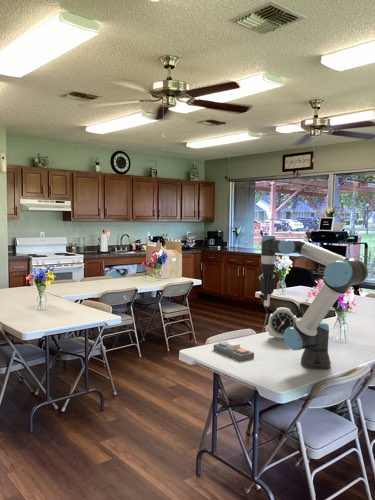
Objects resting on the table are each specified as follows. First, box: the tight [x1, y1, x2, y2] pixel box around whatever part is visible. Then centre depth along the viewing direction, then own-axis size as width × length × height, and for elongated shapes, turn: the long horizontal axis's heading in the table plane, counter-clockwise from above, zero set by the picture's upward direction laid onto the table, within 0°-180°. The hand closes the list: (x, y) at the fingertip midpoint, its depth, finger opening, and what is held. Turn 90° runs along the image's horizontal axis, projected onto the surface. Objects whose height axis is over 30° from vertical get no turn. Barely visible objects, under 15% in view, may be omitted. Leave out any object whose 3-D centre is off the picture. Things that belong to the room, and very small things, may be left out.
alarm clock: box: [267, 306, 298, 341], centre depth 275 cm, size 18×8×20 cm, turn 76°
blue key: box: [218, 341, 229, 347], centre depth 248 cm, size 5×5×3 cm
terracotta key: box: [236, 347, 250, 354], centre depth 236 cm, size 5×5×3 cm
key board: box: [213, 343, 255, 362], centre depth 242 cm, size 23×10×3 cm, turn 35°
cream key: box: [227, 341, 241, 351], centre depth 242 cm, size 5×5×3 cm
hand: (266, 306), depth 237 cm, fingers closed
